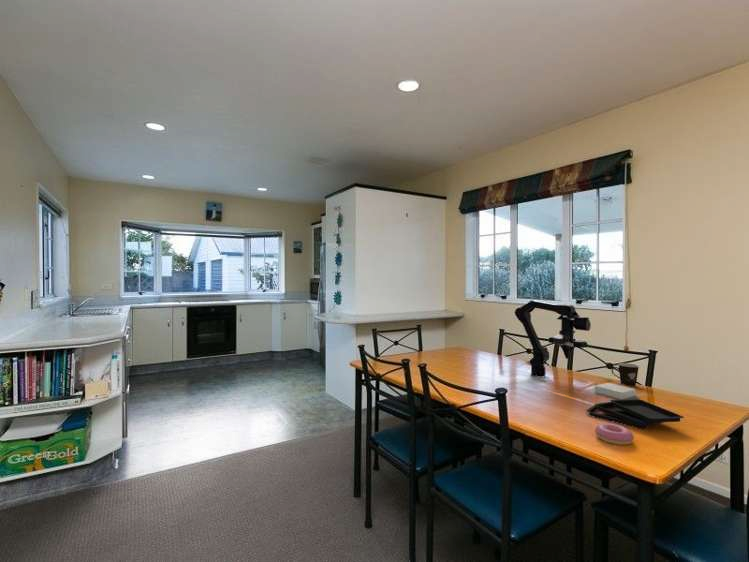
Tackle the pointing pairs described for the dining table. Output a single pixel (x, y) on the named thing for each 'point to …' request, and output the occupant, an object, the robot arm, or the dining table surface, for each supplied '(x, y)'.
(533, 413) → the dining table surface
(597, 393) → the slate board
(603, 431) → the doughnut
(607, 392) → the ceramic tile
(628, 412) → the tray
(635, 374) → the coffee mug
